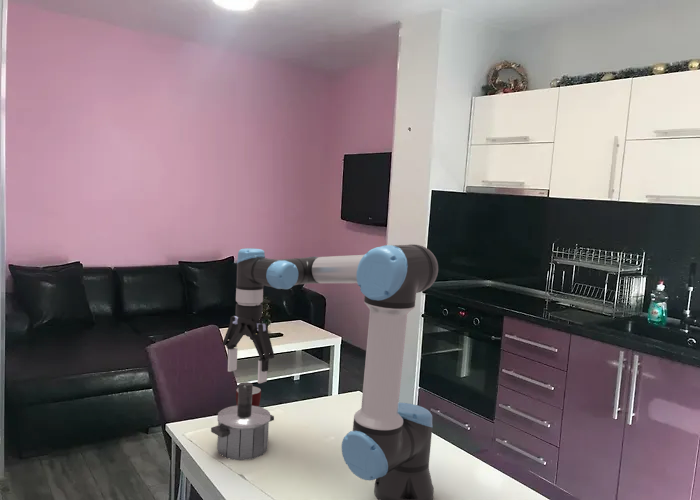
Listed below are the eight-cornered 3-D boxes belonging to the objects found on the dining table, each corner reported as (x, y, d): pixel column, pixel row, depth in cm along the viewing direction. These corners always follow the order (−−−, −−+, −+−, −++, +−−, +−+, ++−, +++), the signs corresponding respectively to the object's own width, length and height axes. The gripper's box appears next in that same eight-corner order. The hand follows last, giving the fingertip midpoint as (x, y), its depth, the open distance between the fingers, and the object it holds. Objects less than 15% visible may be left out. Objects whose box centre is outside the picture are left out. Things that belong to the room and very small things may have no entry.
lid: (280, 425, 166) (282, 386, 165) (239, 439, 155) (241, 397, 154) (248, 409, 176) (249, 372, 175) (206, 422, 165) (208, 383, 164)
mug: (250, 429, 180) (251, 398, 179) (226, 425, 182) (228, 394, 181) (263, 417, 190) (265, 388, 189) (241, 413, 192) (242, 384, 191)
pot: (282, 447, 169) (284, 418, 168) (230, 467, 155) (232, 435, 154) (252, 432, 178) (253, 404, 177) (200, 449, 164) (202, 419, 163)
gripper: (289, 308, 157) (285, 384, 159) (233, 295, 173) (230, 363, 175) (268, 312, 151) (264, 390, 153) (212, 297, 168) (210, 368, 169)
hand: (246, 376), depth 164 cm, fingers open, 13 cm apart
